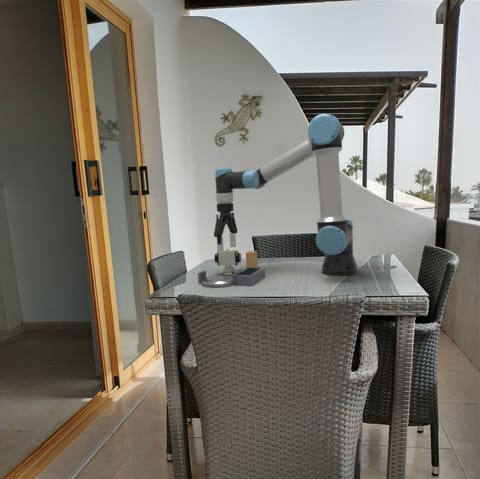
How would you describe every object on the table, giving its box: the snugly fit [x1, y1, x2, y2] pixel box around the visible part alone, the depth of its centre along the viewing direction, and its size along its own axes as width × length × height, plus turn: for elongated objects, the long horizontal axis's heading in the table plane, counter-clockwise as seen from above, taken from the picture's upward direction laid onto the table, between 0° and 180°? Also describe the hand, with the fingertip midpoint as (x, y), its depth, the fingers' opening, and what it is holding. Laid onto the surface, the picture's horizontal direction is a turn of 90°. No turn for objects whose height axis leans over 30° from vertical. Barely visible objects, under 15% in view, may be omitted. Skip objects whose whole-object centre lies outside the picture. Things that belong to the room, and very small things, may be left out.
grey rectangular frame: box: [231, 266, 267, 287], centre depth 149 cm, size 9×17×4 cm, turn 157°
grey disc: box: [197, 270, 241, 289], centre depth 148 cm, size 18×15×4 cm
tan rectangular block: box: [245, 250, 259, 268], centre depth 163 cm, size 4×4×10 cm
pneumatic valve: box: [213, 248, 242, 276], centre depth 164 cm, size 6×12×12 cm, turn 78°
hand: (227, 249), depth 163 cm, fingers open, 13 cm apart
